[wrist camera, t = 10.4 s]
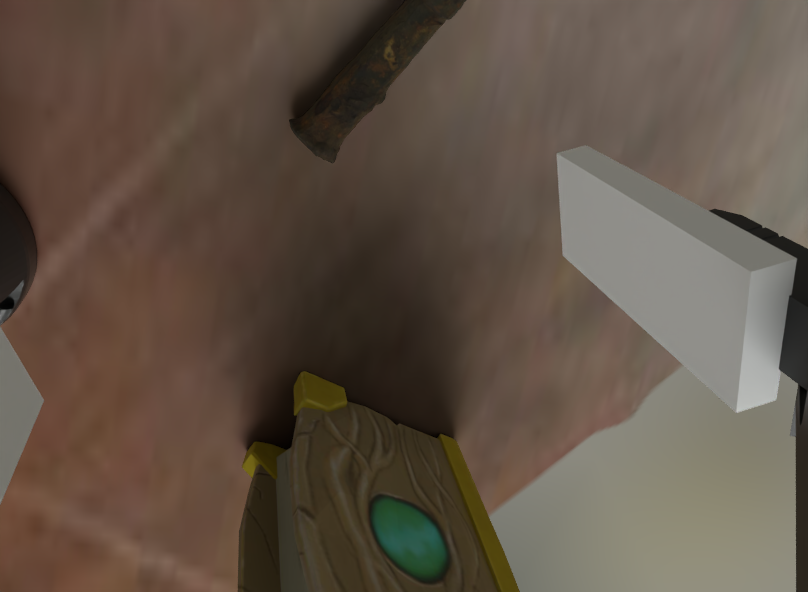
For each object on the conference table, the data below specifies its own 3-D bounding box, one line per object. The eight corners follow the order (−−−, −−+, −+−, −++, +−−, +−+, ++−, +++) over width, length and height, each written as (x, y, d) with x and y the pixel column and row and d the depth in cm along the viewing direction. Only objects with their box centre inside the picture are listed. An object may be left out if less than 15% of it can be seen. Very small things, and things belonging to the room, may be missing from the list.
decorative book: (464, 438, 66) (601, 752, 40) (403, 511, 69) (493, 848, 43) (294, 361, 58) (326, 695, 32) (233, 449, 61) (217, 818, 35)
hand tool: (324, 156, 50) (331, 174, 46) (285, 120, 48) (289, 136, 44) (504, -33, 46) (529, -31, 42) (470, -80, 44) (492, -83, 40)
